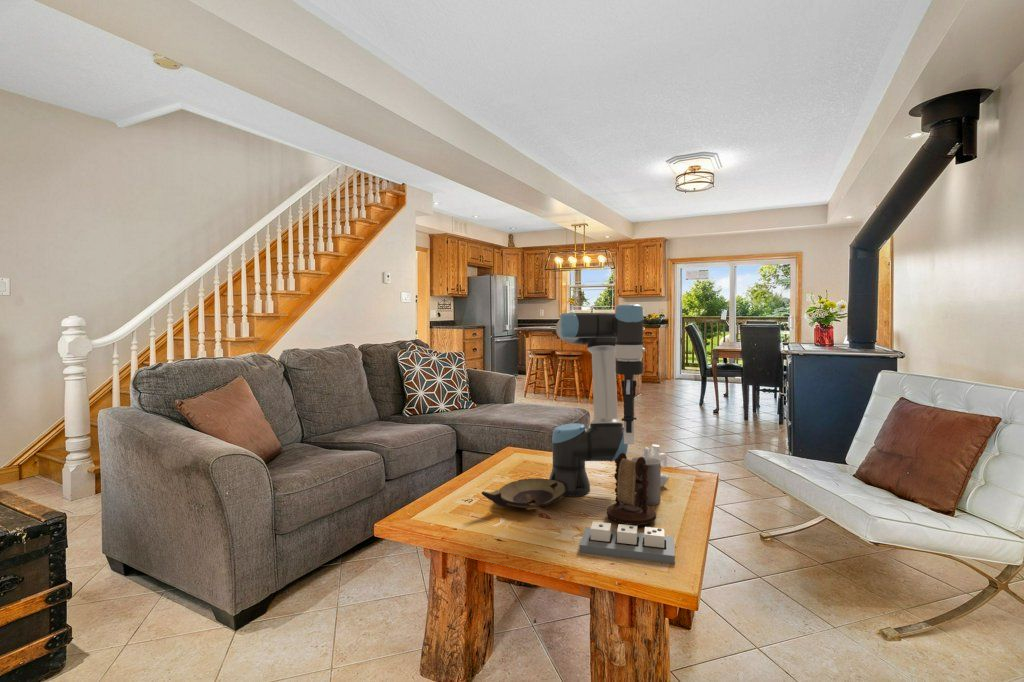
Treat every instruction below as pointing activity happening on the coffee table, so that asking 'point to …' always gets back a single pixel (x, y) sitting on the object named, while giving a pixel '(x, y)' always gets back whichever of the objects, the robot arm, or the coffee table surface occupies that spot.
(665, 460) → the figurine
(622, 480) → the scroll
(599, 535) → the white die
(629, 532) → the white die
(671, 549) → the button board
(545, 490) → the oil lamp
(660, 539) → the white die
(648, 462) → the pillar candle
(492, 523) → the coffee table surface
